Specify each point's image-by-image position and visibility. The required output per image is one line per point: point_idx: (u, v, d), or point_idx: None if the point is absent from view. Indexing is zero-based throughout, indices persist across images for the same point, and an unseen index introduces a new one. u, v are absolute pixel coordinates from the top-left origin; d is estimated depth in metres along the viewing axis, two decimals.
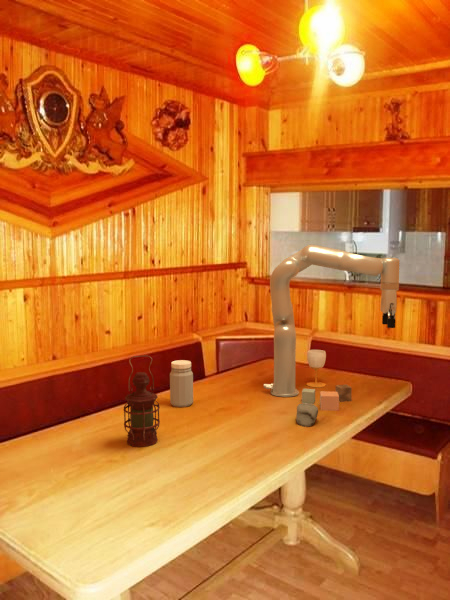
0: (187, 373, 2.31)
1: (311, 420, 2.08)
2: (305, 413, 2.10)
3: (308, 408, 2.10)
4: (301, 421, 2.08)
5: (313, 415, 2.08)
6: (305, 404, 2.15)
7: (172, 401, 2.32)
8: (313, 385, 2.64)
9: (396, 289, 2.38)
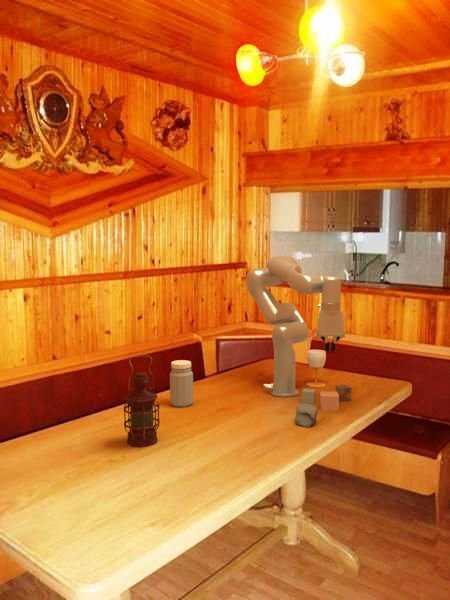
0: (187, 373, 2.31)
1: (311, 421, 2.07)
2: (304, 413, 2.09)
3: (308, 409, 2.09)
4: (300, 422, 2.08)
5: (313, 416, 2.07)
6: (304, 405, 2.14)
7: (172, 401, 2.32)
8: (313, 385, 2.64)
9: None
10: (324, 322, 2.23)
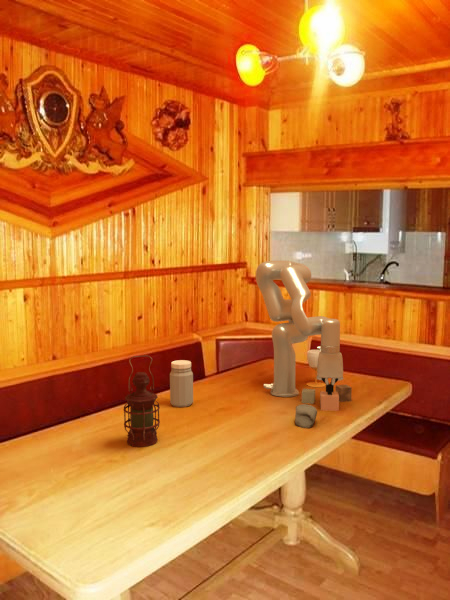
0: (187, 373, 2.31)
1: (310, 421, 2.06)
2: (304, 414, 2.08)
3: (307, 410, 2.09)
4: (300, 423, 2.07)
5: (312, 416, 2.06)
6: (304, 405, 2.13)
7: (172, 401, 2.32)
8: (313, 385, 2.64)
9: None
10: (323, 364, 2.25)
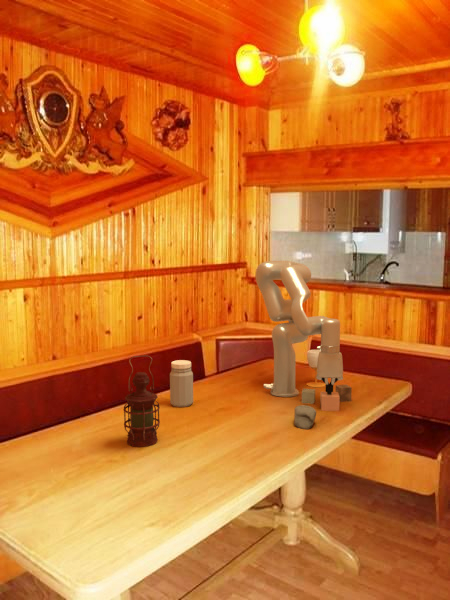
0: (187, 373, 2.31)
1: (310, 422, 2.05)
2: (303, 415, 2.07)
3: (306, 411, 2.07)
4: (299, 424, 2.06)
5: (312, 417, 2.05)
6: (303, 406, 2.12)
7: (172, 401, 2.32)
8: (313, 385, 2.64)
9: None
10: (323, 364, 2.25)
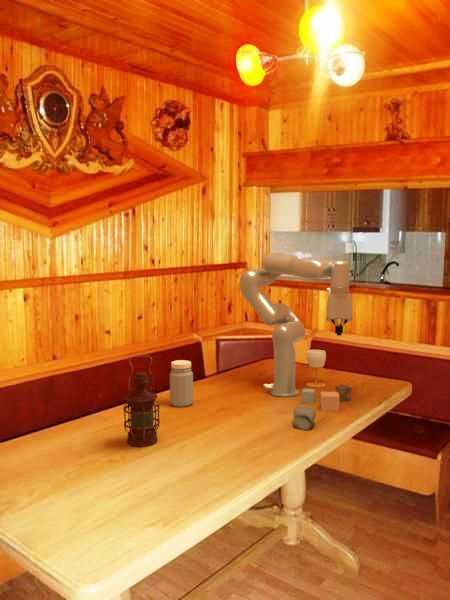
0: (187, 373, 2.31)
1: (309, 423, 2.04)
2: (302, 416, 2.06)
3: (306, 412, 2.06)
4: (299, 425, 2.04)
5: (311, 418, 2.04)
6: (302, 407, 2.11)
7: (172, 401, 2.32)
8: (313, 385, 2.64)
9: None
10: (333, 305, 2.28)
